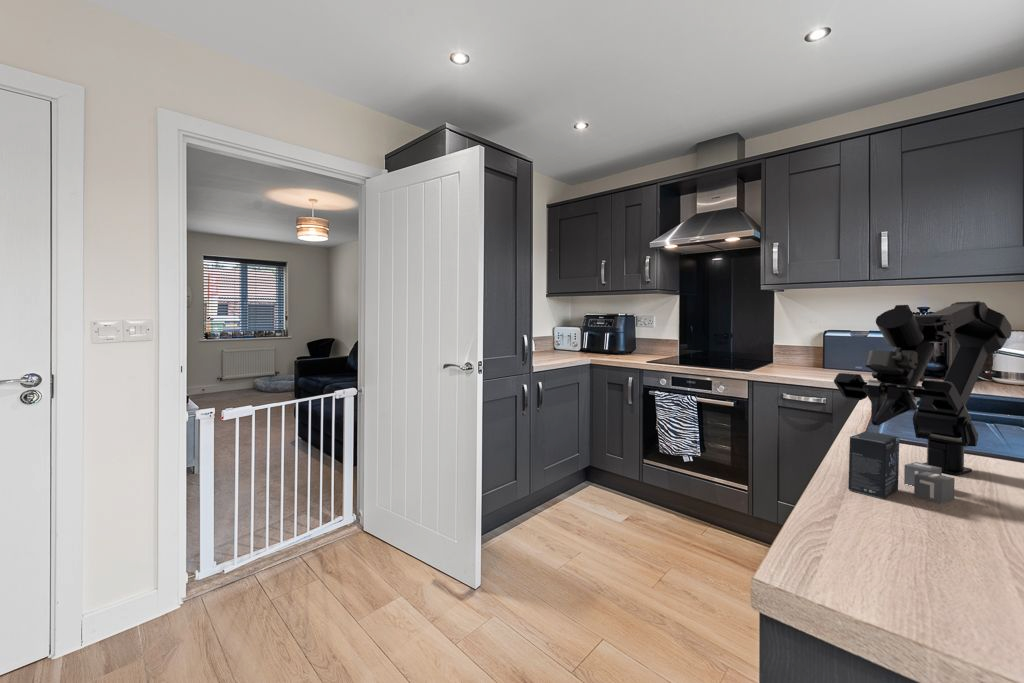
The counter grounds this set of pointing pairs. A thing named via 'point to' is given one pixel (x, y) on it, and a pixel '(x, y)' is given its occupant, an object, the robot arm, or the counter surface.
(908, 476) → the marked cube one
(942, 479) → the marked cube seven
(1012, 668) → the counter surface
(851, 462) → the box
